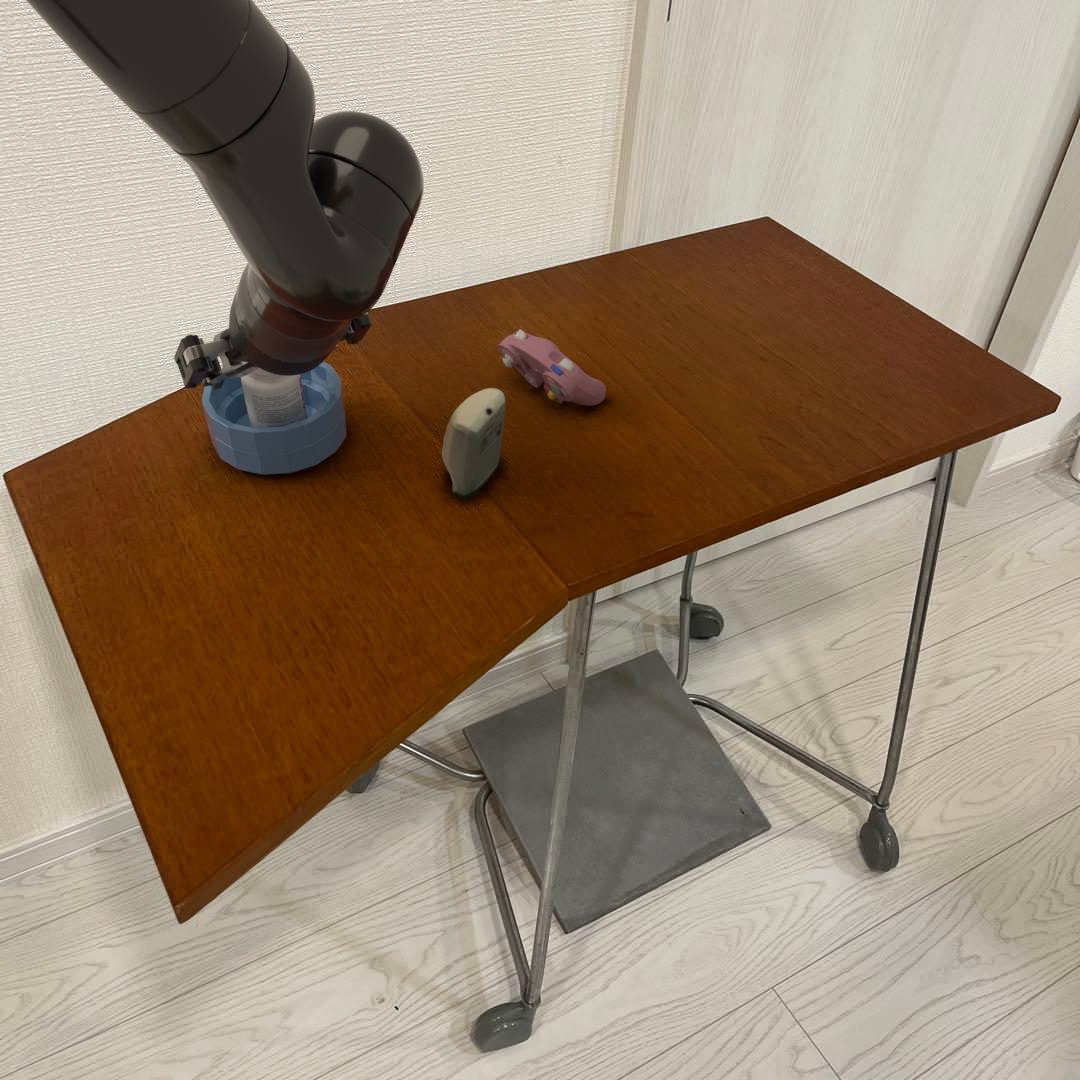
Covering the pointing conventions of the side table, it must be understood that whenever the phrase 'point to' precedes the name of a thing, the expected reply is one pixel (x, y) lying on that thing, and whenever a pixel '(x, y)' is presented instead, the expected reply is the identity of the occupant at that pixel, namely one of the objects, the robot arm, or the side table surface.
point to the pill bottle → (273, 399)
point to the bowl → (278, 444)
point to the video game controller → (550, 369)
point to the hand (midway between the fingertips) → (263, 363)
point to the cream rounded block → (474, 441)
